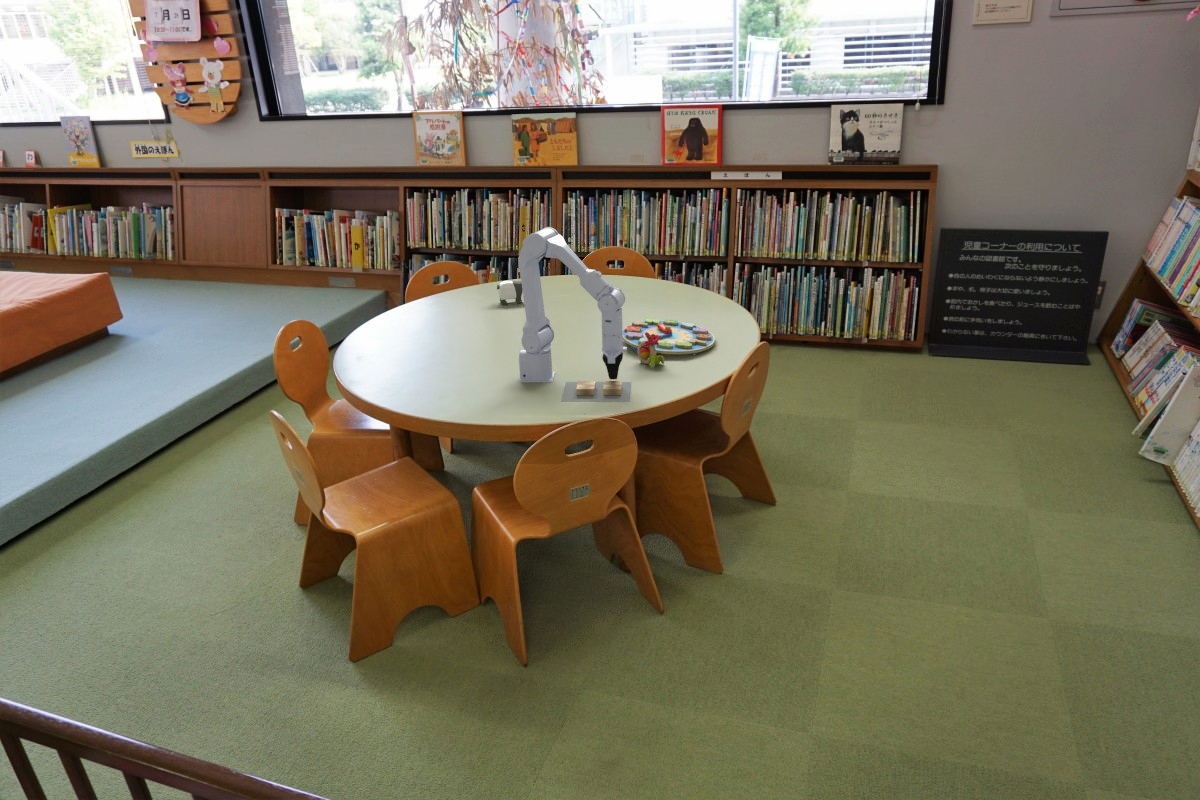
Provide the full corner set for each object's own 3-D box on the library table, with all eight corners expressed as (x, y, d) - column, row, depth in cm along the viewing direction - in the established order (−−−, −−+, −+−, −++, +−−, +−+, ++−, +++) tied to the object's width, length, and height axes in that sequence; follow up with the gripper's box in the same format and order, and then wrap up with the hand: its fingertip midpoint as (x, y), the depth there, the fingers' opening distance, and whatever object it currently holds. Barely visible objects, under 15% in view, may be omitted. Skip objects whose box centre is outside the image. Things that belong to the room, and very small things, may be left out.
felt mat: (560, 402, 222) (560, 401, 222) (565, 383, 235) (565, 382, 235) (629, 402, 221) (629, 401, 221) (631, 383, 234) (631, 381, 233)
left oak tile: (578, 387, 231) (576, 395, 225) (578, 380, 230) (576, 389, 224) (595, 387, 230) (594, 395, 225) (595, 380, 230) (594, 389, 224)
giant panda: (498, 306, 308) (496, 281, 304) (497, 302, 313) (495, 278, 309) (536, 302, 311) (535, 278, 307) (534, 299, 316) (533, 275, 312)
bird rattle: (636, 373, 246) (657, 368, 239) (625, 338, 245) (646, 332, 238) (649, 367, 250) (670, 362, 244) (638, 333, 249) (659, 327, 242)
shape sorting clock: (711, 362, 248) (711, 344, 246) (613, 358, 254) (613, 340, 252) (717, 330, 276) (718, 313, 273) (629, 327, 282) (629, 310, 279)
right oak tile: (604, 387, 230) (603, 395, 225) (604, 380, 229) (603, 389, 224) (622, 387, 230) (621, 395, 224) (622, 380, 229) (621, 389, 224)
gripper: (625, 341, 217) (626, 388, 223) (627, 324, 230) (628, 369, 236) (599, 341, 218) (600, 388, 223) (602, 324, 231) (604, 369, 236)
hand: (613, 378), depth 230 cm, fingers closed
